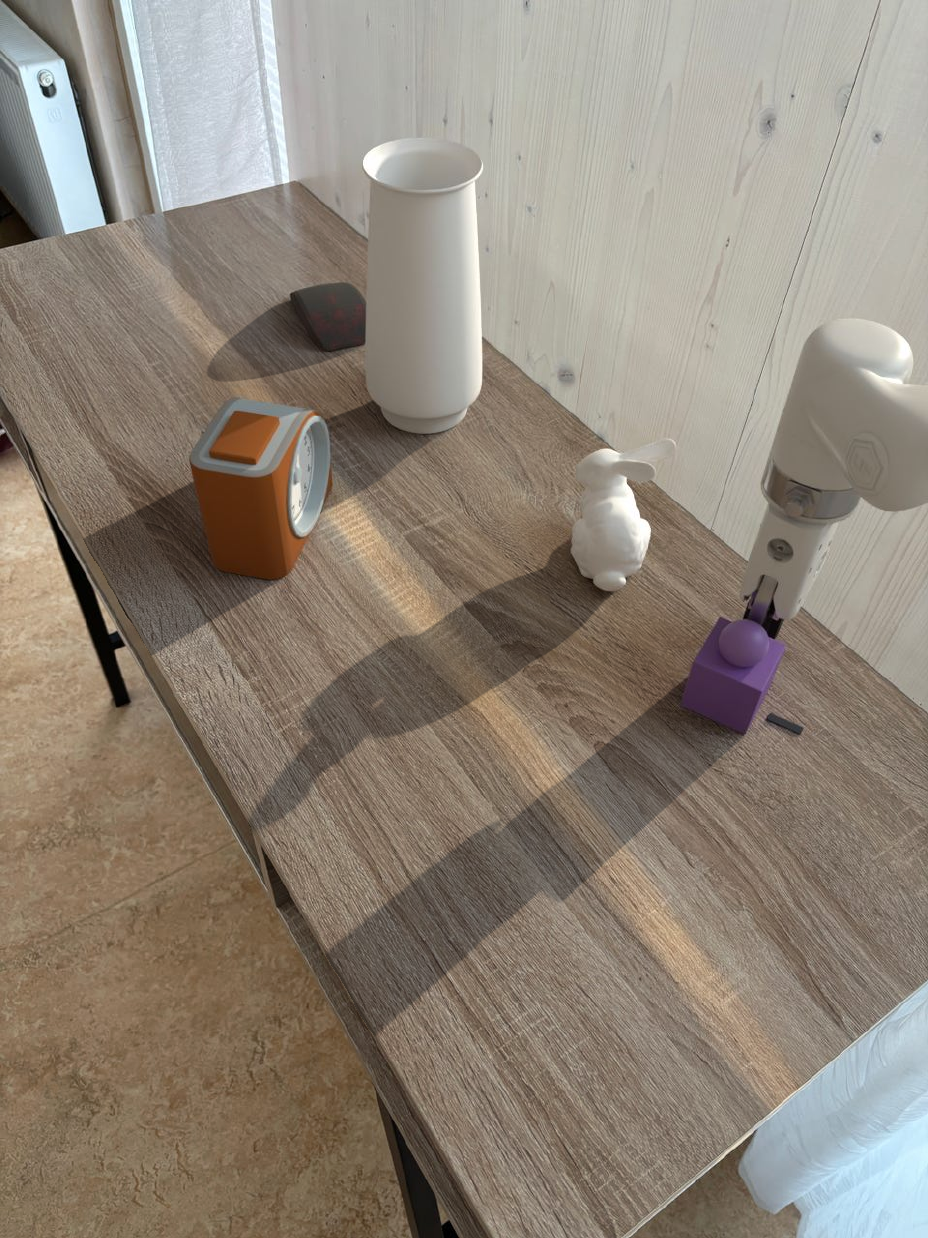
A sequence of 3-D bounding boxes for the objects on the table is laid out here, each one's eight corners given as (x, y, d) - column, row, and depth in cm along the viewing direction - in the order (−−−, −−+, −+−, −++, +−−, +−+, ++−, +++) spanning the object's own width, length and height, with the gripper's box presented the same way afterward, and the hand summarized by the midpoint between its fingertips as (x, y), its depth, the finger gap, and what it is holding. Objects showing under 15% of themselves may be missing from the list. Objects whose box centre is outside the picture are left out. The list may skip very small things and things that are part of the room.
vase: (344, 407, 116) (324, 161, 95) (424, 362, 122) (423, 122, 102) (423, 458, 110) (421, 208, 89) (504, 408, 116) (519, 164, 96)
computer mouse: (315, 355, 123) (312, 325, 120) (283, 299, 131) (280, 270, 128) (378, 341, 125) (377, 312, 122) (343, 287, 133) (341, 259, 130)
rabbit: (563, 516, 104) (575, 421, 95) (654, 518, 104) (674, 423, 95) (571, 602, 96) (585, 507, 87) (670, 604, 96) (694, 509, 87)
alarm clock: (289, 584, 97) (272, 474, 87) (205, 569, 98) (179, 458, 88) (336, 486, 107) (326, 377, 97) (259, 473, 108) (241, 364, 98)
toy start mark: (803, 728, 87) (803, 727, 87) (800, 734, 86) (800, 734, 86) (770, 713, 88) (770, 712, 88) (767, 719, 87) (767, 719, 87)
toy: (769, 688, 90) (797, 618, 83) (745, 735, 86) (772, 666, 79) (706, 660, 92) (728, 590, 85) (679, 705, 88) (700, 635, 81)
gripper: (831, 552, 73) (768, 708, 86) (889, 444, 81) (823, 600, 95) (732, 514, 75) (686, 671, 89) (799, 412, 84) (748, 569, 97)
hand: (757, 634), depth 92 cm, fingers closed
